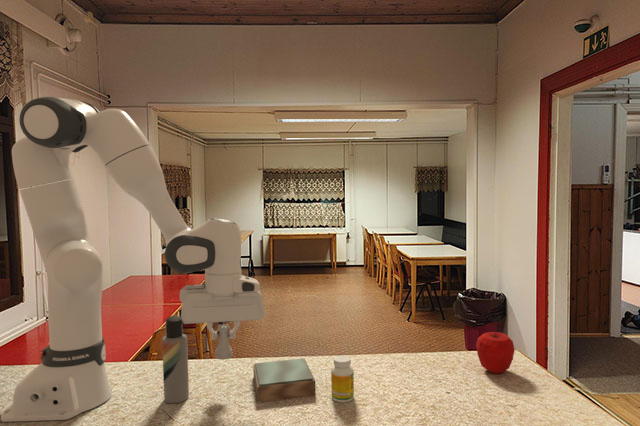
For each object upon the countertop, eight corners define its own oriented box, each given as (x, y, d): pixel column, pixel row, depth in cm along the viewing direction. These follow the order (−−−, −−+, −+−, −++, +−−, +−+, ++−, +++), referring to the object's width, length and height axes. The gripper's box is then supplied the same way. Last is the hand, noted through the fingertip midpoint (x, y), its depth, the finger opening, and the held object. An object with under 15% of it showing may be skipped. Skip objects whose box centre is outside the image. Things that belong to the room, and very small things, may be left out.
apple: (485, 361, 124) (485, 323, 123) (519, 370, 117) (520, 330, 117) (469, 371, 117) (469, 332, 116) (505, 382, 110) (506, 340, 110)
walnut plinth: (257, 402, 102) (257, 385, 102) (253, 377, 116) (253, 362, 116) (315, 395, 105) (315, 379, 105) (304, 371, 119) (304, 357, 119)
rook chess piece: (225, 352, 112) (225, 321, 111) (236, 356, 109) (236, 324, 109) (210, 357, 108) (211, 325, 108) (222, 361, 105) (222, 328, 105)
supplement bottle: (330, 392, 106) (330, 354, 106) (352, 392, 106) (352, 354, 106) (332, 403, 101) (331, 363, 100) (355, 402, 101) (354, 362, 100)
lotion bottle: (182, 390, 109) (179, 312, 108) (193, 398, 105) (190, 316, 104) (160, 398, 105) (157, 317, 104) (170, 406, 101) (167, 322, 100)
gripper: (178, 287, 102) (178, 345, 102) (265, 284, 106) (265, 340, 107) (180, 282, 108) (180, 337, 108) (262, 279, 112) (262, 332, 113)
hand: (223, 338), depth 108 cm, fingers closed on rook chess piece, 3 cm apart
